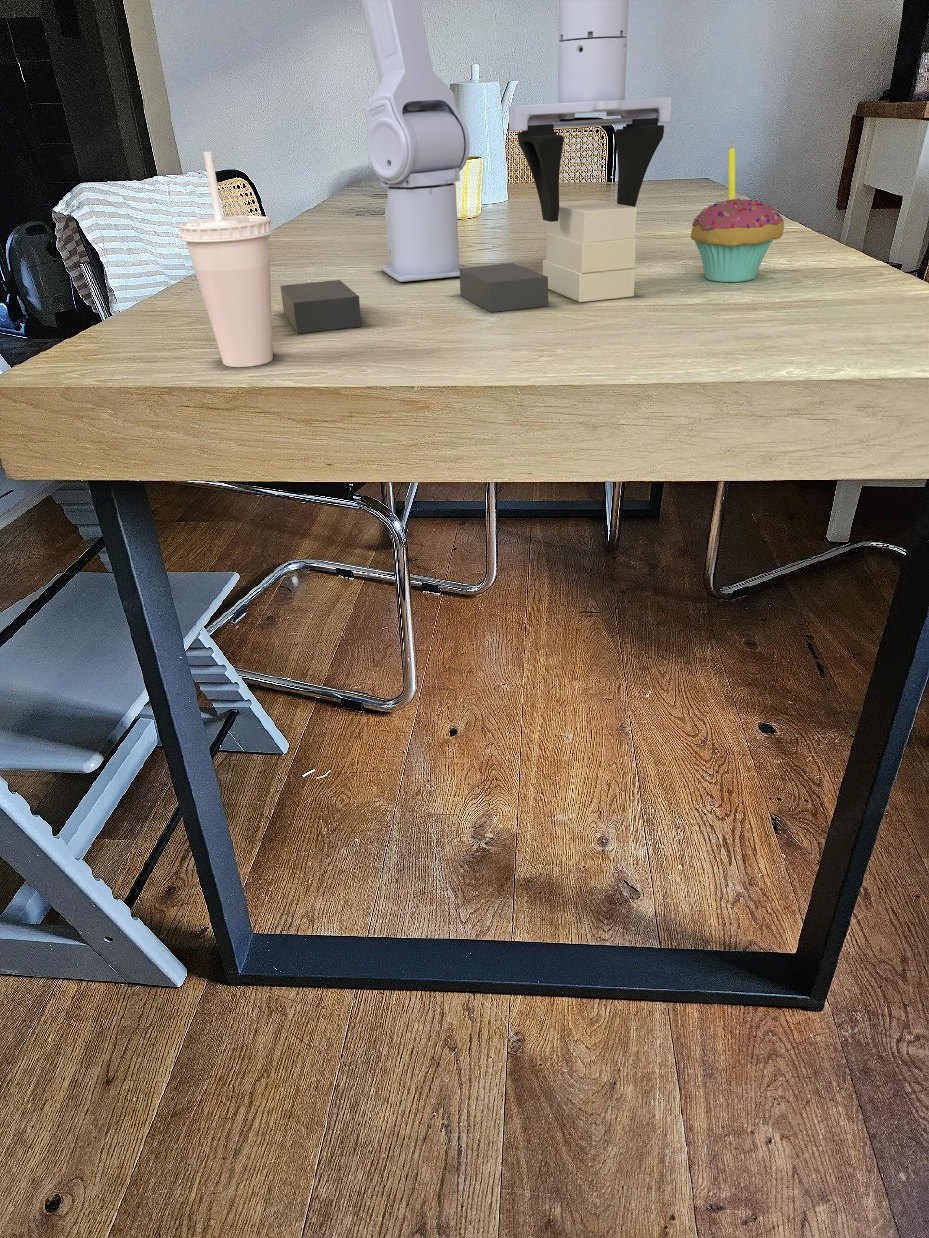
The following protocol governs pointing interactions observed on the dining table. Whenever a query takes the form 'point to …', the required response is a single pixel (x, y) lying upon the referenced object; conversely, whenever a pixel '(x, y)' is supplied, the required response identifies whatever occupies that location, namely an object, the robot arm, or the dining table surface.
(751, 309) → the dining table surface
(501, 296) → the grey book
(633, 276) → the cream stack
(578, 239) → the cream book
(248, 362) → the smoothie
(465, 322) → the dining table surface
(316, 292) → the grey book
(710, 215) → the cupcake
